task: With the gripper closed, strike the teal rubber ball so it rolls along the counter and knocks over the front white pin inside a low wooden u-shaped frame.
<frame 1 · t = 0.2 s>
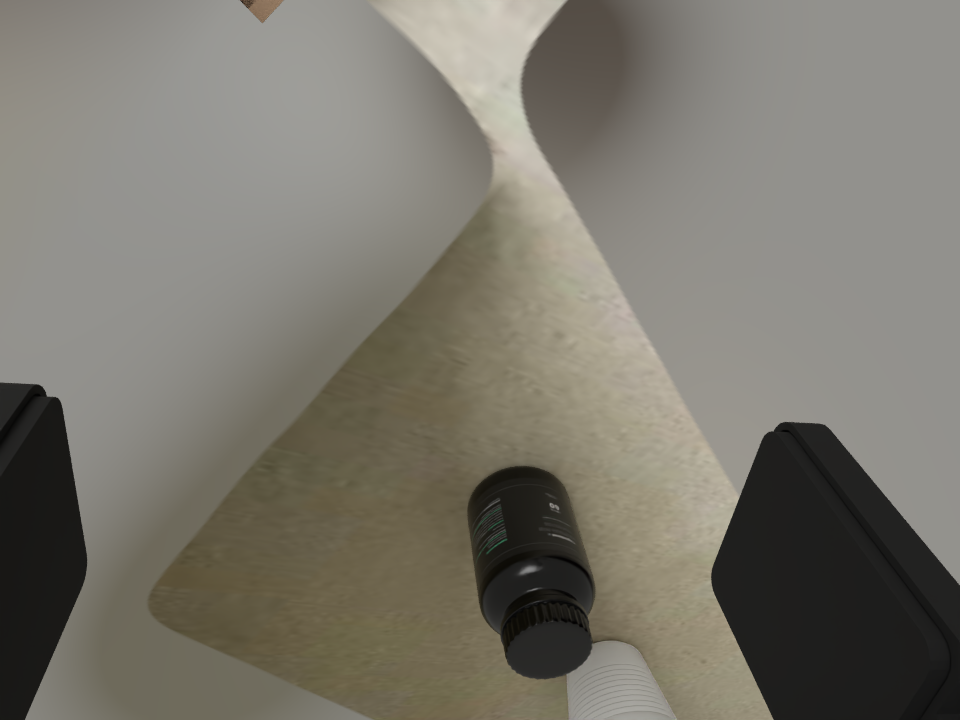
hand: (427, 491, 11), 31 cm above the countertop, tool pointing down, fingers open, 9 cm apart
cup: (602, 661, 62), on the countertop
supplement bottle: (516, 500, 52), on the countertop
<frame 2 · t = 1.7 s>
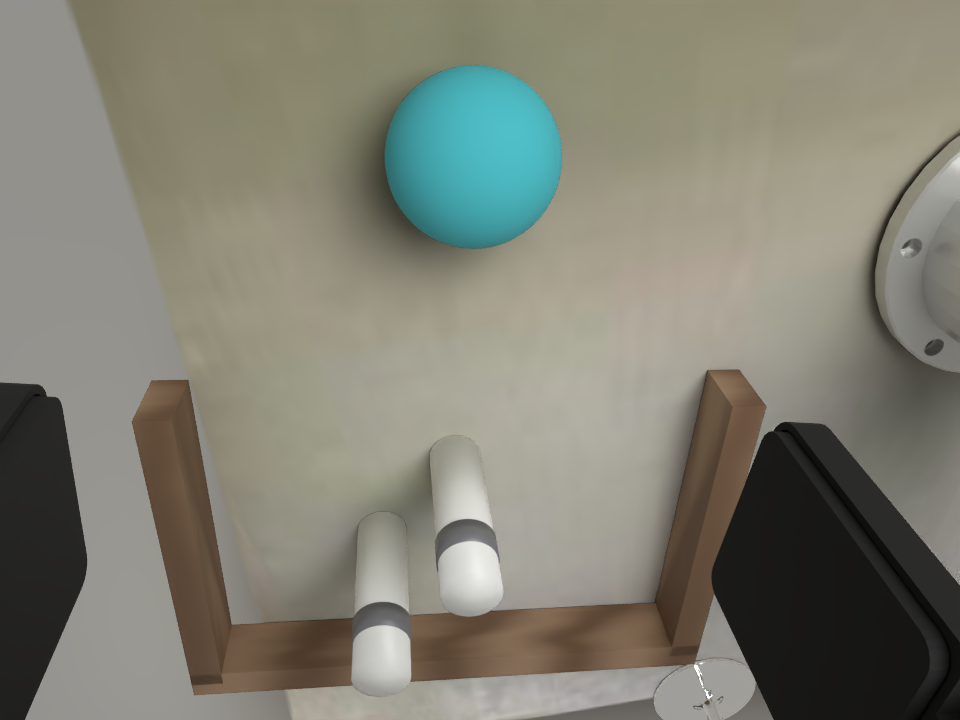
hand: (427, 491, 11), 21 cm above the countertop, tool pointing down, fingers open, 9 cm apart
ball: (473, 159, 26), on the countertop
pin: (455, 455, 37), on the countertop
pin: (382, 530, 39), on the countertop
wineglass: (703, 688, 48), on the countertop
wooden u-shaped frame: (453, 504, 38), on the countertop
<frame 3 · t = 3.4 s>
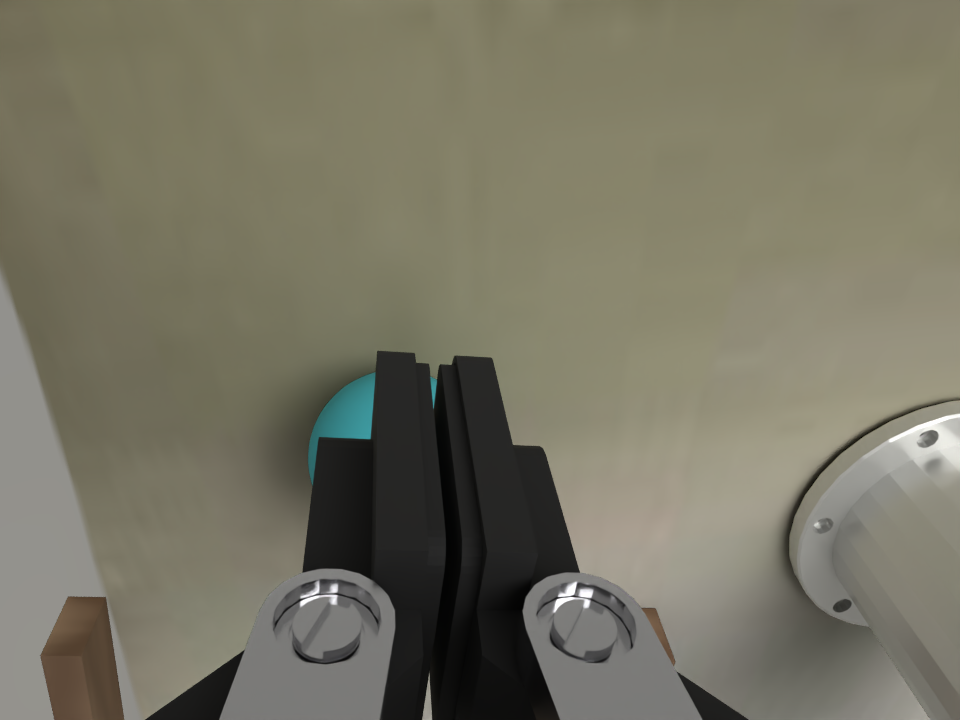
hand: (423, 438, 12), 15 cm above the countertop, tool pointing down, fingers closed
ball: (396, 456, 27), on the countertop
wooden u-shaped frame: (368, 709, 38), on the countertop
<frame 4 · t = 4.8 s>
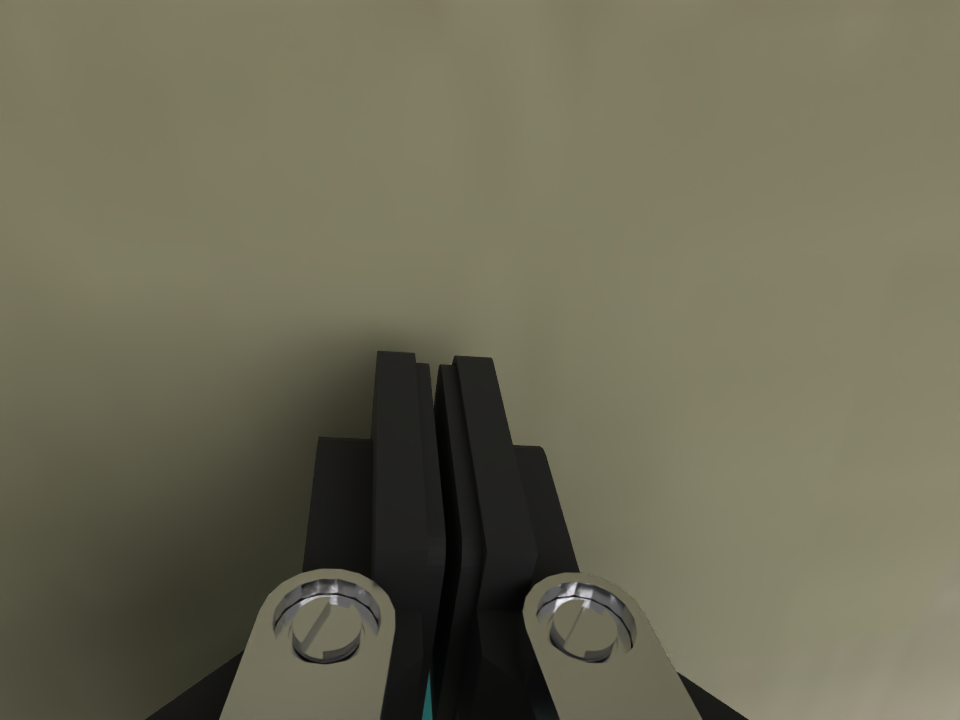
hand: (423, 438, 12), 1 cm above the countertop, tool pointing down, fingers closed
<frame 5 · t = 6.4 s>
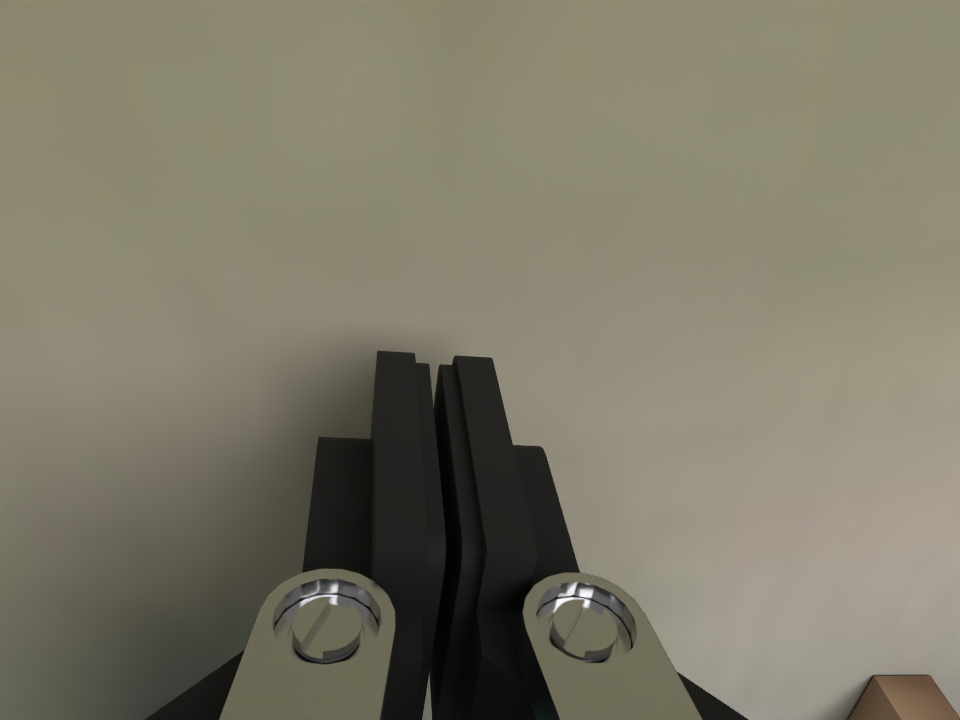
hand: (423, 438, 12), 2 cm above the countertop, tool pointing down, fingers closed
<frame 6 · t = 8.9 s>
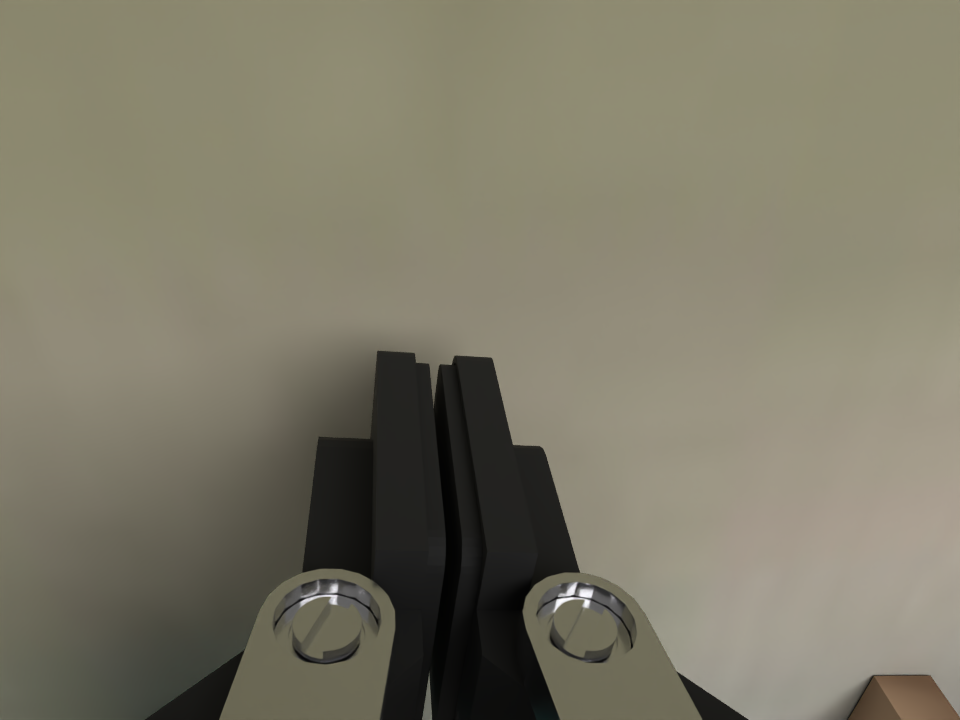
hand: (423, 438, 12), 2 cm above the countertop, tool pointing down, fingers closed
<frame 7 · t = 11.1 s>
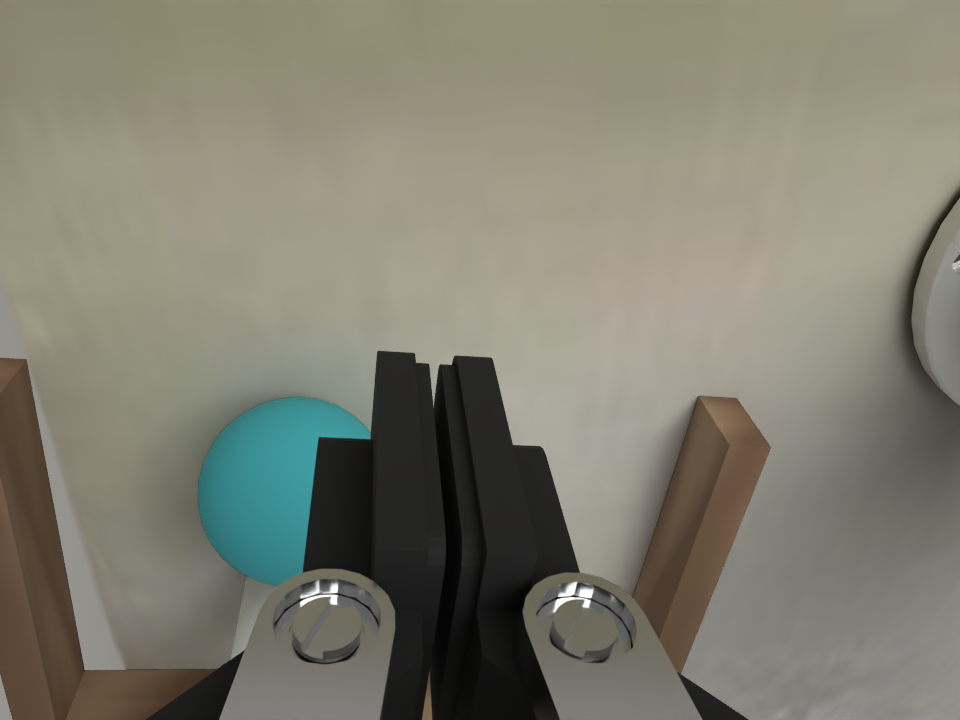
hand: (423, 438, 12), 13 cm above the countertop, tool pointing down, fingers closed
ball: (296, 489, 25), on the countertop
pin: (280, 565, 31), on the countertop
wooden u-shaped frame: (371, 539, 31), on the countertop
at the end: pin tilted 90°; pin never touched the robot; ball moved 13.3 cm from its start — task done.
